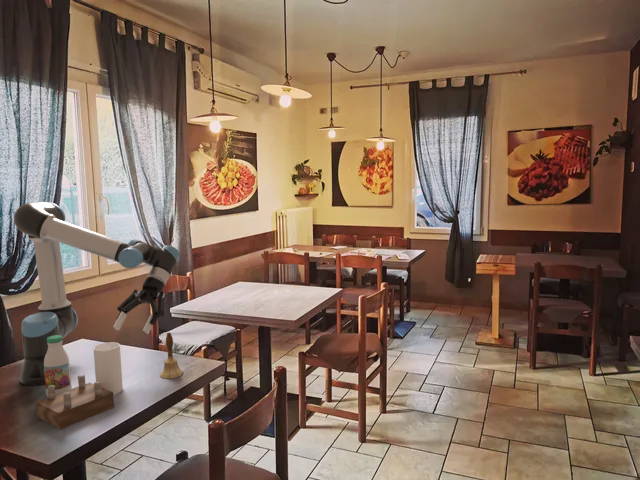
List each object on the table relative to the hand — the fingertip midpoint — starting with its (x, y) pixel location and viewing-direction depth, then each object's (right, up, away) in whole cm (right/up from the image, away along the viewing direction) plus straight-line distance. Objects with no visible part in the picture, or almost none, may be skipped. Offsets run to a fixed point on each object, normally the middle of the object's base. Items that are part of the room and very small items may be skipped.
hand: (130, 330), depth 175 cm
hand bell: (+13, -18, +6) cm, 23 cm away
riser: (-8, -21, -23) cm, 32 cm away
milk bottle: (-21, -20, -9) cm, 30 cm away
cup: (-4, -20, -8) cm, 22 cm away
